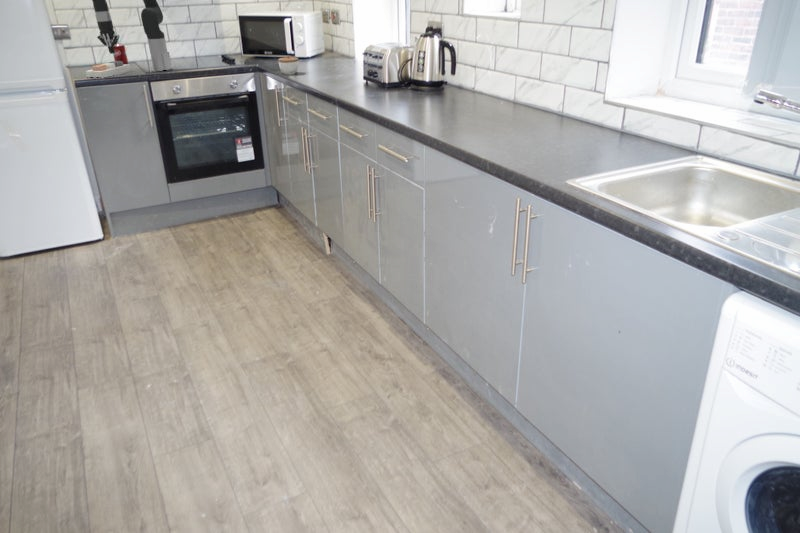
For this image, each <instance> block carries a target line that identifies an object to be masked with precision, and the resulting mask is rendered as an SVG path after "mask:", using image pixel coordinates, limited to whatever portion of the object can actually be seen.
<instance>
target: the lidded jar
mask: <svg viewBox="0 0 800 533" xmlns="http://www.w3.org/2000/svg"><path fill="white" fill-rule="evenodd" d="M277 61H278V66H279V70H280V71H281V72H282V73H283V75H286V76H287V75H296V73H297V72H298V69H299V58H298V57H292V56H290V55H287V56H286V57H280V58H278V60H277Z"/></svg>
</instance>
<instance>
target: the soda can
mask: <svg viewBox="0 0 800 533" xmlns="http://www.w3.org/2000/svg"><path fill="white" fill-rule="evenodd" d="M114 49H115V53H113V54H112V55H113V59H114V60H113V61H123V64H129V60H128V55H127V54H128V53H127V50H126V47H125V44H116V45H114ZM129 65H130V64H129Z"/></svg>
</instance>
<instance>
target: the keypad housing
mask: <svg viewBox="0 0 800 533" xmlns="http://www.w3.org/2000/svg"><path fill="white" fill-rule="evenodd" d="M128 72H132V68H131V64H123V66H119V67H115V68H111V69H107V70H103V71H93V69H90V70H89V69H88V70H86V71H85V74H86V78H87V77H107V78H109V77H108V76H110V77H114V76H117V74H118V75H121V74H125V73H128ZM113 75H114V76H113Z"/></svg>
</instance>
